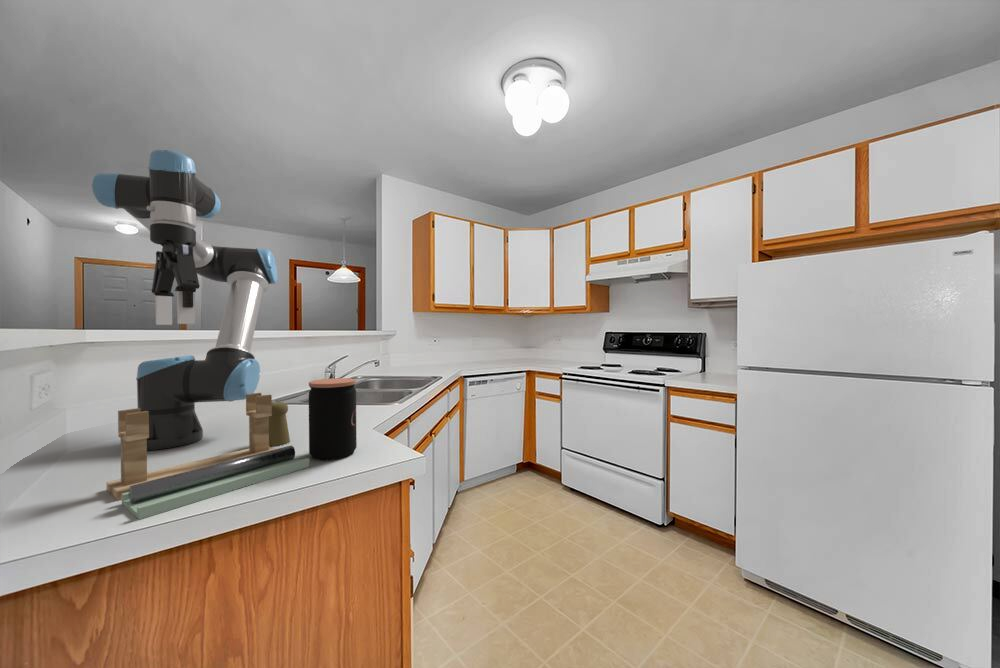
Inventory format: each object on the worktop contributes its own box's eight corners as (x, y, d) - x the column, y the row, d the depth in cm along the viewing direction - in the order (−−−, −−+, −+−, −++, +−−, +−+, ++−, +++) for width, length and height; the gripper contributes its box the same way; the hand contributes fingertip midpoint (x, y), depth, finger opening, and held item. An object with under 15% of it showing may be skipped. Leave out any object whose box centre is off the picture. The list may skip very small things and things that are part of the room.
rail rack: (106, 490, 71) (105, 411, 71) (264, 450, 95) (264, 391, 95) (117, 500, 67) (116, 416, 67) (280, 456, 90) (280, 394, 90)
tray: (121, 504, 66) (121, 493, 66) (286, 458, 89) (286, 450, 89) (139, 519, 60) (138, 508, 60) (309, 466, 83) (309, 458, 83)
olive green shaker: (278, 447, 98) (277, 405, 98) (258, 445, 99) (258, 404, 99) (295, 440, 104) (295, 400, 103) (276, 439, 105) (276, 400, 105)
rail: (134, 494, 63) (130, 482, 64) (132, 507, 64) (127, 494, 65) (296, 451, 85) (290, 442, 87) (292, 461, 86) (287, 452, 88)
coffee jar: (361, 455, 91) (360, 381, 91) (312, 464, 85) (311, 385, 84) (351, 444, 99) (350, 377, 99) (306, 452, 93) (305, 380, 93)
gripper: (133, 231, 85) (134, 324, 85) (171, 211, 71) (172, 323, 71) (175, 238, 91) (176, 325, 91) (218, 221, 78) (219, 323, 78)
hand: (174, 324), depth 81 cm, fingers open, 13 cm apart
